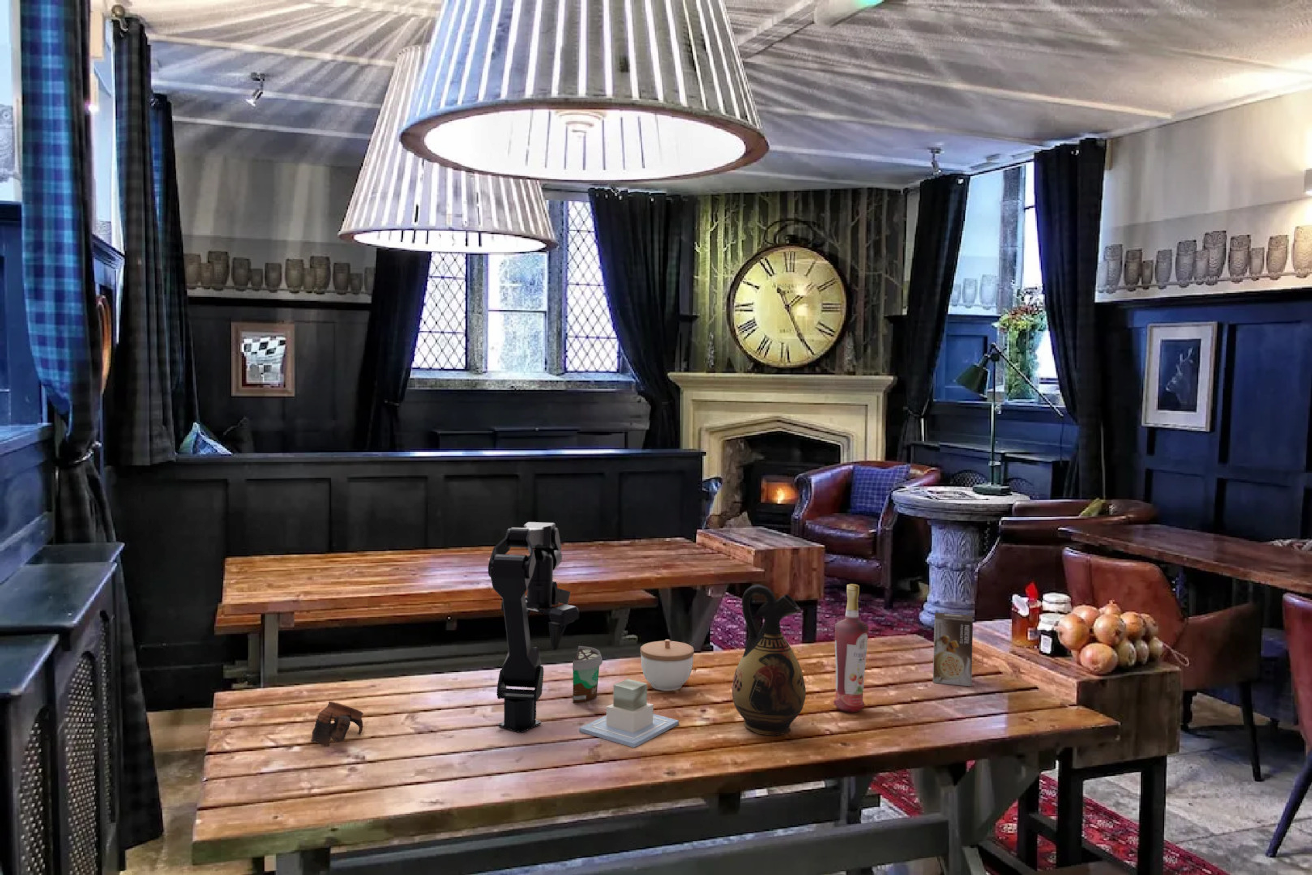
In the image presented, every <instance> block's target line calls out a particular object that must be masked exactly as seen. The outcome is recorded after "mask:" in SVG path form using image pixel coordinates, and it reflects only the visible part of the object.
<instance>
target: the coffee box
mask: <svg viewBox="0 0 1312 875" xmlns="http://www.w3.org/2000/svg"><path fill="white" fill-rule="evenodd" d="M933 627H934V630H933V631H934V633H933V659H932V662H933V663H932V683H933V684H934V683H935V684H943V685H954V686H963V687H972V686H973V685H972V683H973V682H972V678H973V674H972V673H973V640H974V639H973V638H974V636H973V635H974V628H973V627H974V617H973V615H972V614H971V615H970V614H969V615H968V614H957V613H947V612H935V613H934V626H933Z"/></svg>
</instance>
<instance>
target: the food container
mask: <svg viewBox="0 0 1312 875" xmlns="http://www.w3.org/2000/svg"><path fill="white" fill-rule="evenodd" d="M602 664H603V658H602V654H601V652H600V650H598V649H597V648H594V647H590V646H583V645H582V646H581V645H577V654H576V655H575V659H574V660H572V703H573V704H582V703H583V704H584V703H588V702H592V701H594V700H595V699H597V697H598V686H599V685H598V684H599V675H600V666H601V665H602Z"/></svg>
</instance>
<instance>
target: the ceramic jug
mask: <svg viewBox="0 0 1312 875" xmlns="http://www.w3.org/2000/svg"><path fill="white" fill-rule="evenodd" d="M756 596H763V597H764V598H765V599H766V602H764V603H763V604H761V605H760V607H759V608H758V609H757V611H756V615H757V617H761V618H763V624H762V626H761V628H760V629H759V630H760V631H759V632H757V630H756V629H757V628H756V625H755V623H754V620H753V616H752V615H753V614H752V611H751V606H750V603H751V602H750V601H751V599H752V598H753V597H756ZM741 608H742V610H741V611H742V614H743V618H744V621H745V624H746V627H747V633H748V638H747V641H746V644H745V649H744V653H743V655H742V656H741V658H740V660H739V663H738V665H737V667H736V669H735V672H734V675H733V680H732V685H731V697H732V701H733V704H734V707H735V709H736V711H737V712H738V714H739V715H740V716H741V717H742V719H743V720H744V723H743V725H744V727H745V728H746V729H748V730H750V731H751V732H754V733H756V734H762V735H765V736H771V737H778V736H780V735H785V734H787V733H789V732H790V731H791V728H790V727H791V725H792V723H793V721H795V720H796V718H797V717H798V716H799V715H800V714H801V712H802V711H803V708H804V705H805V701H806V699H807V698H806V695H807V694H806V693H807V691H806V690H807V689H806V683H805V678H804V674H803V671H802V668H801V667H802V666H801V664H800V662H799V660H798V659H797V657H796V655H795V653H794V651H793V648H792V647H791V645H790V644H789V642H788V641H787V639H786V637H784V635H783V632H782V630H781V626H780V624H781V623H780V622H781V620H783V619H784V618H785V617H789V616H791V615H795V614H798V613H800V612H802V609H801V607H800V606H799V605H798V604H797V603H796V602H795V600H794V599H793V598H792V596H790V595H789V594H788V593H787V594H784V595H782V596H781V597H780V598H778V599H776V598H775V595H774V592H773V591H772V590H771V589H770V588H769V587H768V586H764V585H762V584H753V585H751V586H749V587H748V588H746V590H745V591H744V593H743V596H742V598H741Z"/></svg>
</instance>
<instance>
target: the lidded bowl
mask: <svg viewBox="0 0 1312 875" xmlns="http://www.w3.org/2000/svg"><path fill="white" fill-rule="evenodd" d="M639 651H640V663H641V664H640V665H641V670H642V674H643V676H644V678H645V679H646V681H647V682H648V683H649V685H650V686H651V688H653V689H655V690H658V691H664V692H670V691H672V692H673V691H678V690H680V689H681V688H682V685H684V684H685V683H686V682H687V681H688V680H689V677H690V676H691V674H692V670H693V664H694V654H695V649H694V647H693V646H692V645H690V644H688V643H685V642H682V641H681V642H679V641H673V640H671V639H665V640H658V641H650V642H647V643H644V644H643V645H642V646H640V650H639Z"/></svg>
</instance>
